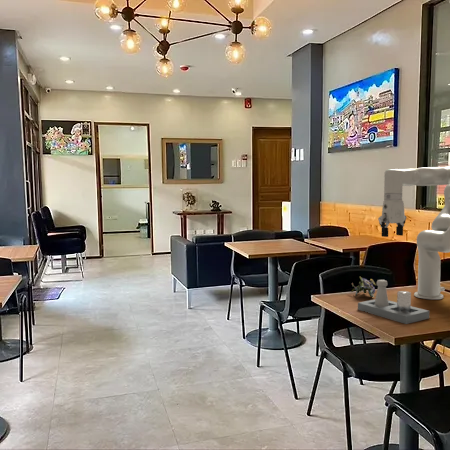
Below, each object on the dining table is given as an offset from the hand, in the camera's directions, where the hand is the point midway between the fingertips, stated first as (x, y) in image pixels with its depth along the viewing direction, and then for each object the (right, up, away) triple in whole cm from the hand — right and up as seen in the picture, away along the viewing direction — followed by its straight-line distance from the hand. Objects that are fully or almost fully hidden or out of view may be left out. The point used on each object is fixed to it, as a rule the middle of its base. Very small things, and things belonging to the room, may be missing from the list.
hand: (392, 235), depth 197 cm
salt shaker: (-8, -32, -10) cm, 34 cm away
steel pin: (-3, -32, -20) cm, 38 cm away
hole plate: (-6, -32, -15) cm, 35 cm away
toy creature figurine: (-8, -30, +14) cm, 34 cm away
